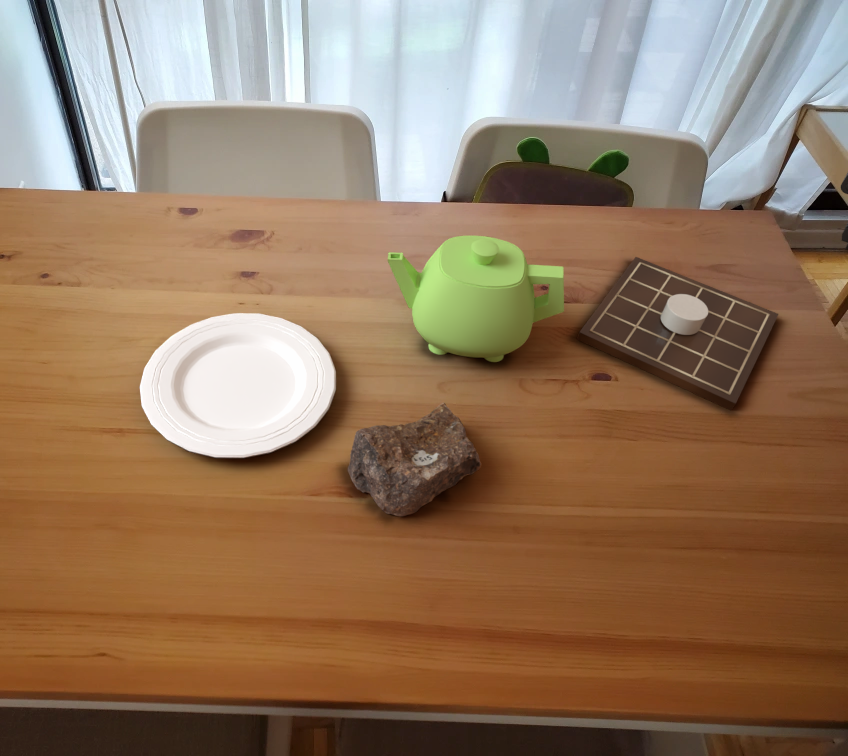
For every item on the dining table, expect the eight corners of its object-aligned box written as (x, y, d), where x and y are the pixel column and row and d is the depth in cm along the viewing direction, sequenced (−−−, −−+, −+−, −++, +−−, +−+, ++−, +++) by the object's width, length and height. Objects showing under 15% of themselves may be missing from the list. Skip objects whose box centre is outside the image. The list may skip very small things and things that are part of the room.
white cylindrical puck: (705, 319, 86) (713, 304, 84) (693, 340, 83) (701, 325, 81) (668, 303, 88) (675, 288, 86) (654, 324, 85) (661, 309, 83)
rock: (449, 422, 76) (454, 381, 71) (496, 475, 71) (505, 435, 66) (344, 474, 71) (342, 435, 67) (387, 534, 67) (388, 496, 62)
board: (774, 321, 88) (779, 313, 87) (731, 410, 78) (736, 402, 77) (632, 263, 95) (636, 255, 94) (576, 339, 85) (579, 331, 84)
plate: (101, 400, 77) (97, 389, 75) (235, 299, 88) (234, 287, 87) (246, 504, 68) (245, 493, 67) (374, 378, 80) (375, 366, 78)
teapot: (374, 360, 82) (381, 274, 72) (389, 285, 91) (397, 199, 81) (553, 385, 80) (583, 299, 70) (549, 305, 89) (577, 220, 79)
